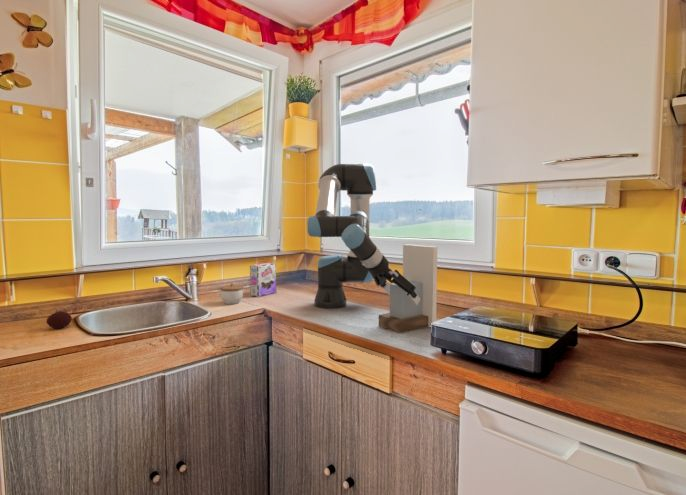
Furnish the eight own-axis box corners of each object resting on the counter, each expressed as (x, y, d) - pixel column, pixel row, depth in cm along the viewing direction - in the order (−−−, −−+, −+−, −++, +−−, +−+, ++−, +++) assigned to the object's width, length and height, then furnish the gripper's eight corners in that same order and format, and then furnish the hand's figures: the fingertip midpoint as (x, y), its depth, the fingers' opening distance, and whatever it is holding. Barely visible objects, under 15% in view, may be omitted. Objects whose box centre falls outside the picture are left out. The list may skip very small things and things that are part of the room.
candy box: (258, 297, 190) (257, 265, 189) (250, 296, 194) (249, 264, 192) (276, 292, 202) (276, 263, 201) (268, 291, 205) (268, 262, 204)
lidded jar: (219, 306, 172) (219, 286, 171) (221, 301, 182) (221, 282, 182) (243, 304, 174) (243, 285, 174) (244, 299, 185) (243, 281, 184)
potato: (42, 331, 133) (41, 315, 133) (54, 324, 142) (53, 309, 141) (66, 330, 135) (65, 313, 135) (77, 323, 144) (76, 308, 143)
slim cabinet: (389, 315, 139) (390, 278, 138) (411, 311, 145) (411, 275, 144) (400, 318, 134) (401, 280, 133) (422, 314, 140) (422, 278, 139)
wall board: (402, 318, 150) (403, 244, 148) (405, 317, 151) (406, 244, 149) (432, 328, 137) (433, 247, 134) (435, 327, 138) (437, 246, 135)
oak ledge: (378, 325, 140) (378, 314, 140) (405, 319, 148) (405, 309, 148) (400, 333, 130) (400, 322, 130) (428, 326, 138) (428, 316, 138)
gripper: (348, 265, 138) (379, 300, 148) (391, 273, 118) (424, 313, 128) (359, 250, 141) (389, 286, 150) (404, 255, 121) (435, 296, 131)
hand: (405, 298), depth 139 cm, fingers open, 12 cm apart
